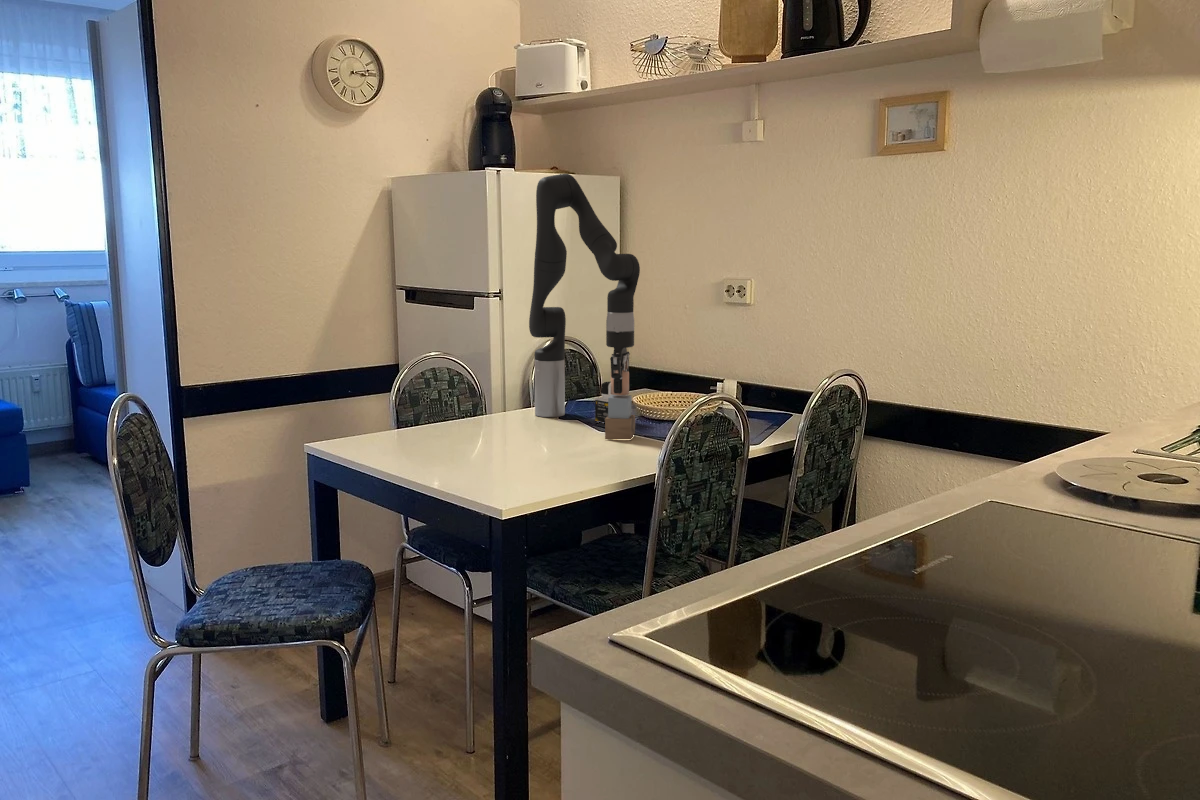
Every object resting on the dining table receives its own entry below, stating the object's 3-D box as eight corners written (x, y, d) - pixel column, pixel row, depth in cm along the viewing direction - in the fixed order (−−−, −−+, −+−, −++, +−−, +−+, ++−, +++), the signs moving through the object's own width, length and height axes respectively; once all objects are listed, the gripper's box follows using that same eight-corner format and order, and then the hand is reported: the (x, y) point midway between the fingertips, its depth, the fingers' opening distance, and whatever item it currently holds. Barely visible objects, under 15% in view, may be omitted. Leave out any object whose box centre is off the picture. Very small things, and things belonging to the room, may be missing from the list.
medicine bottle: (594, 421, 282) (594, 382, 280) (612, 418, 286) (612, 379, 284) (610, 425, 276) (611, 384, 274) (628, 422, 281) (628, 382, 279)
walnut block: (610, 435, 263) (610, 413, 262) (634, 436, 261) (635, 414, 260) (605, 440, 256) (605, 418, 255) (630, 441, 255) (630, 419, 254)
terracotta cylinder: (612, 392, 260) (612, 370, 259) (630, 392, 259) (630, 370, 258) (608, 394, 255) (608, 372, 254) (627, 395, 254) (627, 373, 253)
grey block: (611, 414, 261) (611, 394, 260) (631, 415, 260) (631, 395, 259) (608, 418, 256) (608, 397, 255) (628, 418, 255) (628, 398, 254)
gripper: (612, 326, 262) (611, 387, 264) (600, 331, 248) (600, 395, 251) (638, 327, 260) (638, 388, 263) (628, 331, 246) (628, 396, 249)
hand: (619, 391), depth 257 cm, fingers closed on terracotta cylinder, 4 cm apart
